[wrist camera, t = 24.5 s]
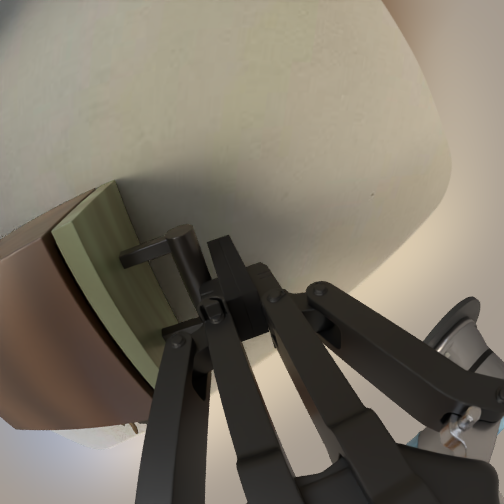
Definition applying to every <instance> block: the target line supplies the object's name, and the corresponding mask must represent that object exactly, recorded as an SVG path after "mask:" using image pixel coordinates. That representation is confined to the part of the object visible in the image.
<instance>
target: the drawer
mask: <svg viewBox="0 0 504 504" xmlns="http://www.w3.org/2000/svg"><path fill="white" fill-rule="evenodd" d="M51 232H52V234H53V236H54V239H55V241H56V243H57V244H56V245H55V247H56V249H57V251H58V253H59V255H60V257H61V259H62V260H63V262H64V264H65V266H66V268H67V270H68V272H69V273H70V275H71V277H72V279H73V281H74V282H75V284H76V286H77V287H78V289H79V291H80V292H81V294H82V296H83V297H84V299H85V301H86V302H87V304H88V305H89V307H90V309H91V310H92V312H93V313H94V315H95V316H96V318H97V319H98V321H99V322H100V324H101V325H102V327H103V328H104V329H105V331H106V332H107V334H108V335H109V336H110V338H111V339H112V341H113V342H114V343H115V345H116V346H117V347H118V349H119V350H120V351H121V353H122V354H123V355H124V356H125V358H126V357H128V358H129V359H130V361H131V362H132V363H133V365H134V366H135V367H136V368H137V369H138V371H139V372H140V373H141V374H142V376H143V377H144V378H145V379H146V380H147V381H148V383H149V384H150V385H151V386H152V387H153V388H154V389H155V385H156V380H157V376H158V371H159V367H160V363H161V359H162V355H163V351H164V347H165V343H166V341H167V339H168V338H169V337H170V336H171V335H173V334H174V333H177V332H180V331H185V332H188V333H190V334H192V333H193V332H195V331H196V330H198V329H199V328H200V327H201V326H202V324H203V321H202V319H201V317H200V315H199V312H198V310H197V307H198V305H199V303H200V302H201V297H200V292H199V288H200V286H201V283H204V282H207V281H210V280H212V279H211V276H210V273H209V271H208V268H207V265H206V263H205V260H204V257H203V254H202V252H201V249H200V246H199V243H198V240H197V237H196V235H195V232H194V229H193V226H192V225H190V224H185V225H180V226H177V227H175V228H173V229H171V230H169V231H168V232H167V233H166V234H165V235H164V236H162V237H159V238H156V239H153V240H151V241H148V242H145V243H142V244H140V243H139V240H138V238H137V236H136V233H135V231H134V229H133V226H132V224H131V221H130V219H129V216H128V214H127V211H126V209H125V206H124V204H123V201H122V198H121V196H120V193H119V190H118V187H117V185H116V182H115V180H113V181H111V182H108V183H106V184H104V185H101V186H100V187H99V188H97V189H96V190H95V191H94V192H93V193H91V194H90V195H89V196H88V197H87V198H86V199H85V200H83V201H82V202H81V203H80V204H79V205H78V206H77V207H76V208H75V209H73V210H72V211H71V212H70V213H69V214H68V215H67V216H66V217H65V218H64V219H63V220H62V221H61V222H60V223H59V224H58V225H57V226H56V227H55V228H54V229H53V230H52V231H51ZM169 253H171V254H172V257H173V259H174V262H175V264H176V266H177V269H178V271H179V273H180V276H181V278H182V280H183V283H184V285H185V287H186V289H187V292H188V294H189V296H190V298H191V301H192V303H193V305H194V307H195V309H196V311H197V313H198V316H199V317H197V318H194V319H191V320H188V321H184V322H181V323H178V321H177V319H176V317H175V315H174V314H173V312H172V310H171V308H170V306H169V304H168V302H167V300H166V298H165V296H164V294H163V292H162V290H161V288H160V286H159V284H158V282H157V280H156V278H155V276H154V274H153V271H152V269H151V267H150V265H149V263H148V261H149V260H152V259H155V258H157V257H160V256H163V255H166V254H169Z"/></svg>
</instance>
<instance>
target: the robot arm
mask: <svg viewBox="0 0 504 504" xmlns="http://www.w3.org/2000/svg"><path fill="white" fill-rule="evenodd" d="M207 244H208V248H209V251H210V254H211V258H212V261H213V264H214V267H215V271H216V274H217V277H218V278H215V279H212V280H210V281H207V282H204V283H201V286H200V288H199V292H200V297H201V302H200V303H199V305H198V307H197V310H198V312H199V315H200V317H201V319H202V321H203V324H202V326H201V327H200V328H199V329H198V330H196V331H195V332H193V333H192V334H190V333H188V332H185V331H180V332H177V333H174V334H173V335H171V336H170V337H169V338H168V339H167V341H166V343H165V347H164V351H163V355H162V359H161V363H160V367H159V371H158V376H157V380H156V385H155V389H154V394H153V398H152V403H151V408H150V413H149V418H148V423H147V428H146V434H145V440H144V445H143V451H142V457H141V463H140V469H139V476H138V483H137V491H136V499H135V504H205V477H206V453H207V434H208V416H209V400H210V387H211V370H213V369H214V373H215V378H216V382H217V386H218V390H219V394H220V398H221V402H222V405H223V409H224V413H225V417H226V420H227V424H228V428H229V431H230V435H231V438H232V441H233V445H234V448H235V452H236V455H237V463H236V465H237V470H238V474H239V477H240V481H241V484H242V487H243V490H244V493H245V496H246V499H247V501H248V502H247V504H504V497H503V496H502V494H501V493H500V491H499V490H498V489H499V480H498V475H497V472H496V470H495V468H494V467H493V466H492V465H491V464H489V461H490V458H491V455H492V452H493V449H494V445H495V441H496V438H497V435H498V434H499V433H500V432H501V431H502V430H503V429H504V362H503V361H502V360H501V359H500V358H499V357H498V356H497V355H496V354H495V353H494V352H493V351H492V350H491V349H490V348H489V347H488V346H487V345H486V343H485V341H484V339H483V337H482V335H481V334H480V332H479V331H478V329H477V326H476V324H475V322H474V321H473V320H472V319H471V318H469V317H464V318H462V319H461V320H459V321H458V322H457V323H456V324H454V325H453V326H452V327H451V328H450V329H449V330H448V331H447V332H446V334H445V335H444V336H443V337H442V338H441V339H440V341H439V342H438V343H437V344H436V346H435V347H434V348H432V347H430V346H428V345H427V344H425V343H424V342H422V341H421V340H419V339H417V338H416V337H415V336H413V335H411V334H410V333H408V332H407V331H405V330H403V329H402V328H401V327H399V326H397V325H396V324H394V323H393V322H391V321H390V320H388V319H386V318H385V317H383V316H382V315H380V314H379V313H377V312H375V311H374V310H372V309H371V308H369V307H367V306H366V305H364V304H363V303H361V302H360V301H358V300H356V299H355V298H353V297H351V296H350V295H348V294H347V293H345V292H344V291H342V290H340V289H339V288H337V287H336V286H334V285H332V284H331V283H328V282H325V281H319V282H314V283H312V284H310V285H309V286H308V287H307V289H306V292H305V293H297V294H292V293H289V292H288V291H286V290H285V289H282V288H281V286H280V285H279V283H278V282H277V280H276V279H275V277H274V276H273V275H272V273H271V271H270V270H269V268H268V267H267V265H265V264H263V263H261V262H259V263H256V264H254V265H251V266H248V267H245V265H244V263H243V261H242V259H241V257H240V255H239V253H238V252H237V250H236V248H235V246H234V244H233V242H232V240H231V238H230V236H229V235H226V236H223V237H221V238H218V239H215V240H212V241H209V242H207ZM268 328H269V329H268ZM269 331H270V333H271V337H272V340H273V344H274V347H275V348H277V350H278V352H279V354H280V356H281V358H282V360H283V362H284V364H285V366H286V369H287V371H288V373H289V375H290V377H291V379H292V381H293V383H294V385H295V387H296V389H297V391H298V393H299V395H300V397H301V399H302V401H303V403H304V405H305V407H306V409H307V411H308V413H309V415H310V417H311V419H312V421H313V423H314V425H315V427H316V429H317V431H318V433H319V435H320V437H321V439H322V441H323V443H324V444H325V446H326V448H327V451H328V454H329V457H330V459H331V461H332V463H333V464H332V465H331V466H330V467H329V468H327V469H326V470H324V471H323V472H321V473H318V474H313V475H307V476H300V477H296V476H295V474H294V472H293V470H292V468H291V465H290V463H289V461H288V459H287V456H286V454H285V452H284V449H283V447H282V444H281V442H280V440H279V437H278V435H277V432H276V430H275V427H274V425H273V422H272V420H271V417H270V415H269V412H268V410H267V407H266V405H265V402H264V400H263V397H262V395H261V392H260V389H259V387H258V384H257V382H256V379H255V376H254V374H253V371H252V368H251V366H250V363H249V360H248V357H247V355H246V352H245V349H244V347H243V344H242V341H245V340H248V339H251V338H253V337H256V336H259V335H262V334H264V333H267V332H269ZM323 344H324V345H326V346H327V347H328V348H329V349H330V350H332V351H333V352H334V353H335V354H336V355H338V356H339V357H340V358H341V359H342V360H344V361H345V362H346V363H347V364H348V365H350V366H351V367H352V368H353V369H354V370H356V371H357V372H358V373H359V374H360V375H362V376H363V377H364V378H365V379H366V380H368V381H369V382H370V383H371V384H373V385H374V386H375V387H376V388H378V389H379V390H380V391H381V392H383V393H384V394H385V395H386V396H387V397H389V398H390V399H391V400H392V401H393V402H395V403H396V404H397V405H398V406H400V407H401V408H402V409H403V410H405V411H406V412H407V413H409V414H410V415H411V416H412V417H413V418H415V419H416V420H418V421H419V422H420V423H422V424H423V425H425V426H426V428H425V429H424V430H423V431H420V432H419V433H418V434H417V435H416V436H415V437H414V438H413V439H412V440H411V441H409V442H408V443H407V444H406V445H404V444H398V443H396V442H395V441H394V439H393V438H392V436H391V435H390V433H389V432H388V430H387V429H386V428H385V426H384V425H383V423H382V421H381V420H380V418H379V417H378V416H377V414H376V413H375V412H374V411H373V410H372V409H371V408H366V407H365V406H364V405H363V403H362V402H361V400H360V399H359V397H358V396H357V394H356V393H355V391H354V390H353V388H352V387H351V385H350V384H349V382H348V381H347V379H346V378H345V376H344V375H343V373H342V372H341V370H340V369H339V367H338V366H337V364H336V363H335V361H334V360H333V358H332V357H331V355H330V354H329V352H328V351H327V349H326V348H325V346H324V345H323Z"/></svg>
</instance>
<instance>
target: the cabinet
mask: <svg viewBox="0 0 504 504" xmlns="http://www.w3.org/2000/svg"><path fill="white" fill-rule="evenodd" d="M95 190H96V189H95V188H94V189H92V190H90V191H87V192H85V193H83V194H81V195H79V196H77V197H75V198H73V199H71V200H69V201H67V202H65V203H63V204H61V205H59V206H57V207H55V208H53V209H51V210H49V211H48V212H46V213H44V214H42V215H40V216H38V217H37V218H35V219H33V220H31V221H30V222H28V223H26V224H25V225H23V226H21V227H20V228H18V229H16V230H15V231H13V232H11V233H10V234H8V235H7V236H5V237H3V238H2V239H0V417H1V418H3V419H4V420H5V421H6V422H7V423H9V424H10V425H11V426H12V427H14V428H15V429H20V430H67V429H83V428H95V427H104V426H113V425H120V424H127V423H134V422H140V421H146V420H148V418H149V413H150V408H151V403H152V398H153V394H154V388H153V387H152V386H151V385H150V384H149V383H148V381H147V380H146V379H145V378H144V377H143V376H142V374H141V373H140V372H139V371H138V369H137V368H136V367H135V366H134V365H133V363H132V362H131V361H130V359H129V358H128V357H126V358H125V356H124V355H123V354H122V353H121V351H120V350H119V349H118V347H117V346H116V345H115V343H114V342H113V341H112V339H111V338H110V336H109V335H108V334H107V332H106V331H105V329H104V328H103V327H102V325H101V324H100V322H99V321H98V319H97V318H96V316H95V315H94V313H93V312H92V310H91V309H90V307H89V305H88V304H87V302H86V301H85V299H84V297H83V296H82V294H81V292H80V291H79V289H78V287H77V286H76V284H75V282H74V281H73V279H72V277H71V275H70V273H69V272H68V270H67V268H66V266H65V264H64V262H63V260H62V259H61V257H60V255H59V253H58V251H57V249H56V247H55V245H56V244H57V243H56V241H55V239H54V236H53V234H52V232H51V231H52V230H53V229H54V228H55V227H56V226H57V225H58V224H59V223H60V222H61V221H62V220H63V219H64V218H65V217H66V216H67V215H68V214H69V213H70V212H71V211H72V210H73V209H75V208H76V207H77V206H78V205H79V204H80V203H81V202H82V201H83V200H85V199H86V198H87V197H88V196H89V195H90V194H91V193H93V192H94V191H95Z"/></svg>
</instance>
